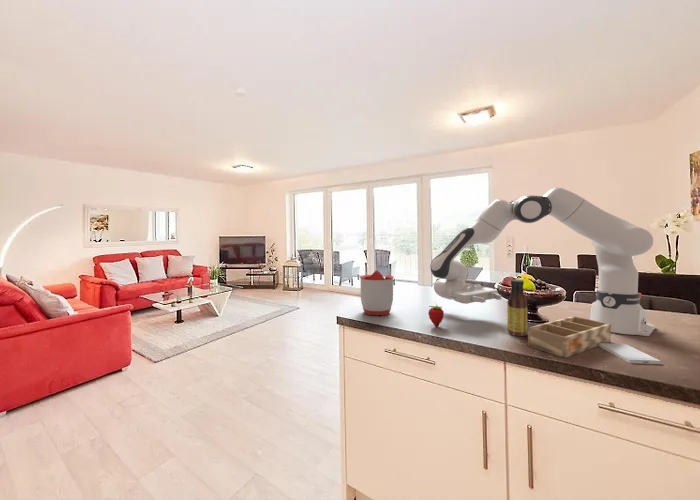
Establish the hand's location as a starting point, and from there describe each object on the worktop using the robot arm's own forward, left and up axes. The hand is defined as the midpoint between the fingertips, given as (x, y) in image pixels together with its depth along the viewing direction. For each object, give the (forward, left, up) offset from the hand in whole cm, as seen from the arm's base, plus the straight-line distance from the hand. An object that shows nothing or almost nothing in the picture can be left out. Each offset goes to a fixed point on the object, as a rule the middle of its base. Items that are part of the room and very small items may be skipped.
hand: (492, 299), depth 116 cm
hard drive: (-12, +37, -12) cm, 41 cm away
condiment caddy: (-6, +24, -11) cm, 27 cm away
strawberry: (+20, -10, -11) cm, 25 cm away
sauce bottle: (0, +10, -11) cm, 15 cm away
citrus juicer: (+29, -39, -11) cm, 50 cm away
